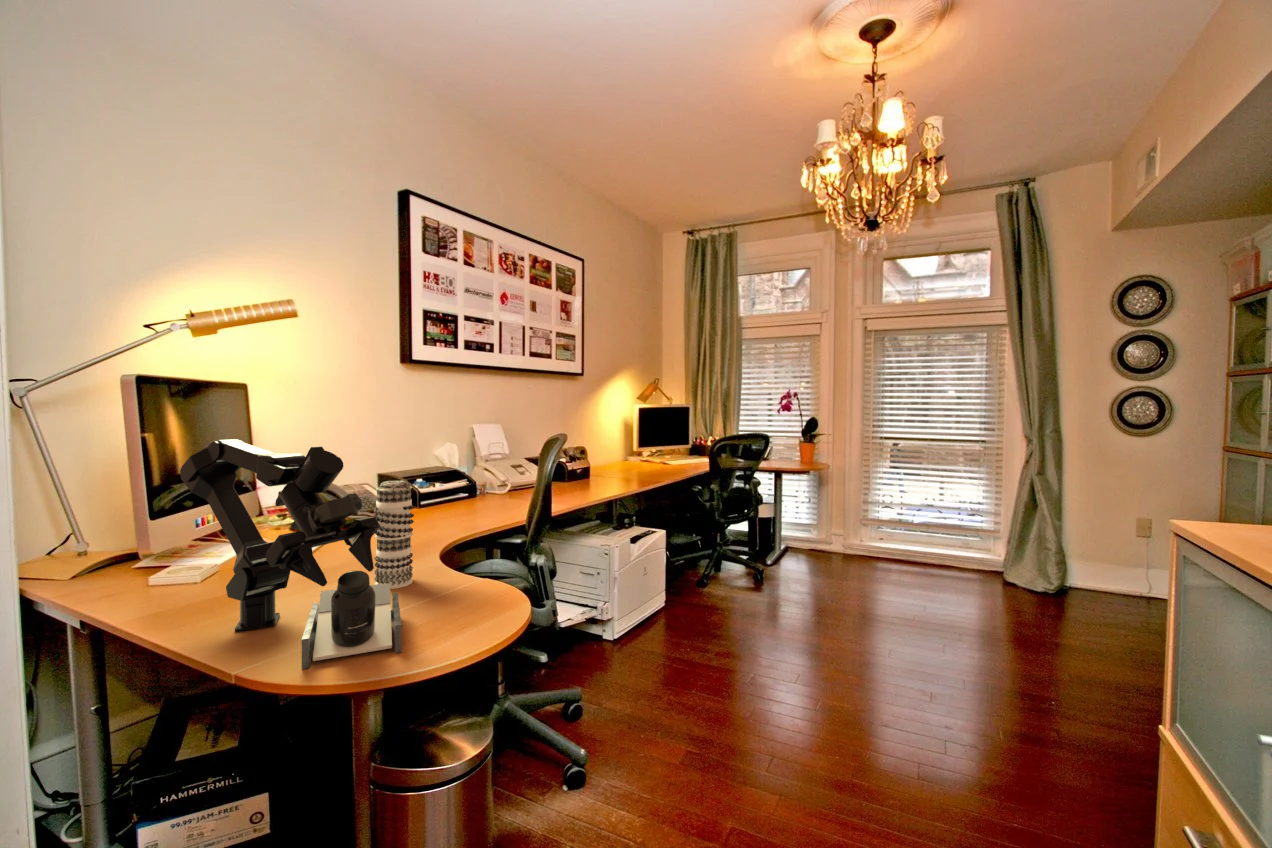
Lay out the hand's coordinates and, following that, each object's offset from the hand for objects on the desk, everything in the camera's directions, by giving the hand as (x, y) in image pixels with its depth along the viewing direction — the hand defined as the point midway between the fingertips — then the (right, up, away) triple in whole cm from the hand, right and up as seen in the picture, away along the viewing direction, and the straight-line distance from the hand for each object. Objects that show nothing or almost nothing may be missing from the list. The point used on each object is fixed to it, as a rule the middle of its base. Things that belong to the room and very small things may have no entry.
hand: (349, 577), depth 95 cm
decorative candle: (-9, -12, +36) cm, 39 cm away
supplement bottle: (+1, -10, 0) cm, 10 cm away
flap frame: (-1, -13, +4) cm, 14 cm away
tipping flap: (-1, -11, +5) cm, 12 cm away
